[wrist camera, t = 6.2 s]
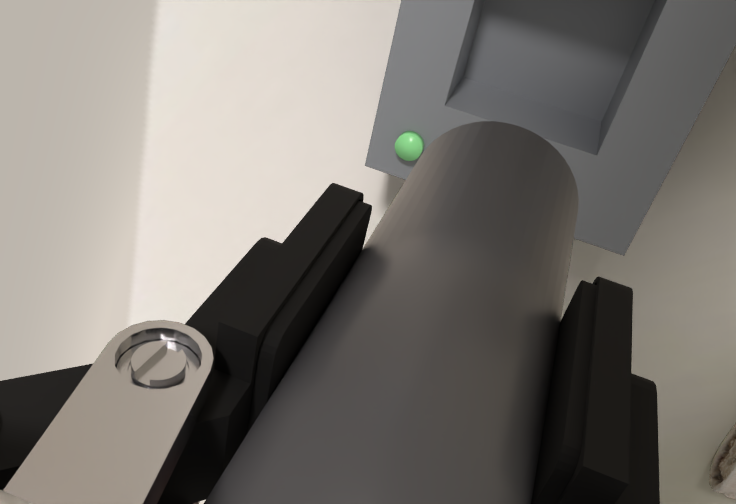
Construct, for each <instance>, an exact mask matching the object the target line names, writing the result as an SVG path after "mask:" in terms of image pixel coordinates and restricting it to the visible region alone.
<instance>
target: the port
mask: <svg viewBox="0 0 736 504" xmlns="http://www.w3.org/2000/svg"><path fill="white" fill-rule="evenodd" d="M735 46H736V0H401V4H400V9H399V14H398V18H397V23H396V27H395V32H394V36H393V41H392V45H391V50H390V54H389V59H388V63H387V68H386V72H385V77H384V81H383V86H382V90H381V95H380V100H379V104H378V109H377V113H376V118H375V122H374V127H373V131H372V136H371V140H370V145H369V149H368V154H367V158H366V163H365V166H367V167H370V168H373V169H376V170H379V171H382V172H384V173H387V174H390V175H393V176H396V177H399V178H402V179H405V180H406V179H407V177H408V176H409V174H410V172H411V171H412V169H413V168H414V166H415V164H416V163H417V161H418V160H419V158H420V156H421V155H422V154H423V152H424V151H425V150H426V148H427V147H428V146H429V145H430V144H431V143H432V142H433V141H434V140H435V139H437V138H438V137H439V136H441V135H442V134H444V133H446V132H447V131H449V130H451V129H453V128H456V127H458V126H461V125H465V124H469V123H473V122H481V121H497V122H504V123H509V124H513V125H517V126H520V127H523V128H525V129H528V130H530V131H532V132H534V133H535V134H537V135H539V136H541V137H542V138H543V139H545V140H546V141H548V142H549V143H550V144H551V145H552V146H553V147H554V148H555V149H557V150H558V152H559V153H560V154H561V155H562V156H563V158H564V159H565V160H566V162H567V164H568V165H569V167H570V169H571V171H572V173H573V176H574V178H575V181H576V185H577V189H578V197H579V204H578V214H577V220H576V227H575V233H574V239H577V240H580V241H583V242H586V243H589V244H592V245H595V246H597V247H600V248H603V249H606V250H609V251H612V252H615V253H618V254H620V255H623V256H624V255H625V253H626V251H627V249H628V247H629V245H630V243H631V242H632V240H633V238H634V236H635V234H636V232H637V230H638V228H639V226H640V225H641V223H642V221H643V219H644V217H645V215H646V213H647V211H648V210H649V208H650V206H651V204H652V202H653V200H654V198H655V196H656V194H657V193H658V191H659V189H660V187H661V185H662V183H663V181H664V179H665V177H666V176H667V174H668V172H669V170H670V168H671V166H672V164H673V162H674V161H675V159H676V157H677V155H678V153H679V151H680V149H681V147H682V145H683V144H684V142H685V140H686V138H687V136H688V134H689V132H690V130H691V129H692V127H693V125H694V123H695V121H696V119H697V117H698V115H699V113H700V112H701V110H702V108H703V106H704V104H705V102H706V100H707V98H708V96H709V95H710V93H711V91H712V89H713V87H714V85H715V83H716V81H717V80H718V78H719V76H720V74H721V72H722V70H723V68H724V66H725V64H726V63H727V61H728V59H729V57H730V55H731V53H732V51H733V49H734V48H735Z"/></svg>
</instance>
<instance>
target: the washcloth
mask: <svg viewBox="0 0 736 504" xmlns="http://www.w3.org/2000/svg"><path fill="white" fill-rule="evenodd" d="M709 484H710V486H711V488H712V489H713V491H715V492H718V493H723V494H725V495H726V497H728V498H732V499H736V424H735V425H734V427H733V428H732V429H731V430H730V432H729V433H728V435H727V436H726V438H725V439H724V440H723V442H722V443H721V445H720V446H719V449H718V451H717V452H716V454H715V456H714V458H713V461H712V464H711V468H710V479H709Z"/></svg>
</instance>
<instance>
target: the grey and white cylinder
mask: <svg viewBox="0 0 736 504" xmlns="http://www.w3.org/2000/svg"><path fill="white" fill-rule="evenodd" d="M578 204H579V197H578V189H577V185H576V181H575V178H574V176H573V173H572V171H571V169H570V167H569V165H568V164H567V162H566V160H565V159H564V158H563V156H562V155H561V154H560V153H559V152H558V150H557V149H555V148H554V147H553V146H552V145H551V144H550V143H549V142H548V141H546V140H545V139H543V138H542V137H541V136H539V135H537V134H535V133H534V132H532V131H530V130H528V129H525V128H523V127H520V126H517V125H513V124H509V123H504V122H497V121H481V122H473V123H469V124H465V125H461V126H458V127H456V128H453V129H451V130H449V131H447V132H446V133H444V134H442V135H441V136H439V137H438V138H437V139H435V140H434V141H433V142H432V143H431V144H430V145H429V146H428V147H427V148H426V150H425V151H424V152H423V154H422V155H421V156H420V158H419V160H418V161H417V163H416V164H415V166H414V168H413V169H412V171H411V172H410V174H409V176H408V177H407V179H406V180H405V182H404V184H403V185H402V187H401V188H400V190H399V192H398V193H397V195H396V196H395V198H394V200H393V201H392V203H391V204H390V206H389V208H388V209H387V211H386V212H385V214H384V216H383V217H382V219H381V220H380V222H379V224H378V225H377V227H376V228H375V230H374V232H373V233H372V235H371V236H370V238H369V240H368V241H367V243H366V244H365V246H364V248H363V249H362V251H361V253H360V254H359V256H358V258H357V259H356V261H355V262H354V264H353V266H352V267H351V269H350V270H349V272H348V274H347V275H346V277H345V278H344V280H343V282H342V283H341V285H340V286H339V288H338V290H337V291H336V293H335V294H334V296H333V298H332V299H331V301H330V302H329V304H328V306H327V307H326V309H325V310H324V312H323V314H322V315H321V317H320V318H319V320H318V322H317V323H316V325H315V326H314V328H313V330H312V331H311V333H310V334H309V336H308V338H307V339H306V341H305V342H304V344H303V346H302V347H301V349H300V350H299V352H298V354H297V355H296V357H295V359H294V360H293V362H292V363H291V365H290V367H289V368H288V370H287V371H286V373H285V375H284V376H283V378H282V379H281V381H280V383H279V384H278V386H277V387H276V389H275V391H274V392H273V394H272V395H271V397H270V399H269V400H268V402H267V403H266V405H265V406H264V408H263V410H262V411H261V413H260V414H259V416H258V418H257V419H256V421H255V422H254V424H253V426H252V427H251V429H250V430H249V432H248V434H247V435H246V437H245V438H244V440H243V442H242V443H241V445H240V446H239V448H238V450H237V451H236V453H235V454H234V456H233V458H232V459H231V461H230V462H229V464H228V466H227V467H226V469H225V470H224V472H223V474H222V475H221V477H220V478H219V480H218V482H217V483H216V485H215V486H214V488H213V490H212V491H211V493H210V494H209V496H208V498H207V499H206V501H205V502H204V504H531V501H532V495H533V489H534V482H535V476H536V470H537V464H538V457H539V451H540V445H541V439H542V432H543V426H544V420H545V414H546V407H547V401H548V395H549V389H550V382H551V376H552V370H553V364H554V357H555V351H556V345H557V339H558V332H559V326H560V321H561V314H562V308H563V302H564V296H565V289H566V283H567V277H568V270H569V264H570V258H571V252H572V245H573V239H574V233H575V227H576V220H577V214H578Z"/></svg>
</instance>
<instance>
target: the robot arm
mask: <svg viewBox="0 0 736 504" xmlns="http://www.w3.org/2000/svg"><path fill="white" fill-rule="evenodd" d="M371 211H372V206H371V205H369V204H366V203H364V202H363V193H361V192H358V191H355V190H352V189H349V188H346V187H344V186H341V185H338V184H335V183H332V184H331V185H330V186H329V187H328V188H327V189H326V190H325V192H324V193H323V194H322V195H321V197H320V198H319V199H318V200H317V201H316V203H315V204H314V205H313V206H312V208H311V209H310V210H309V211H308V213H307V214H306V215H305V216H304V217H303V219H302V220H301V221H300V222H299V224H298V225H297V226H296V227H295V228H294V230H293V231H292V232H291V233H290V235H289V236H288V237H287V238H286V239H285V241H284V242H283V243H279V242H277V241H274V240H271V239H268V238H266V237H265V238H261V239H260V240H259V241H258V242H257V243H256V244H255V245H254V246H253V247H252V248H251V249H250V250H249V252H248V253H247V254H246V255H245V256H244V257H243V258H242V260H241V261H240V262H239V263H238V264H237V265H236V266H235V268H234V269H233V270H232V271H231V272H230V273H229V274H228V276H227V277H226V278H225V279H224V280H223V281H222V282H221V284H220V285H219V286H218V287H217V288H216V289H215V290H214V292H213V293H212V294H211V295H210V296H209V297H208V298H207V300H206V301H205V302H204V303H203V304H202V305H201V306H200V307H199V309H198V310H197V311H196V312H195V313H194V314H193V315H192V317H191V318H190V319H189V320H188V321H187V322H186V323H185V324H182V323H179V322H173V321H166V320H158V321H146V322H142V323H139V324H135V325H132V326H130V327H128V328H126V329H124V330H123V331H121V332H119V333H118V334H117V335H116V336H115V337H114V338H113V339H112V340H111V341H110V342H109V343H108V344H107V345H106V347H105V348H104V350H103V351H102V352H101V354H100V355H99V357H98V358H97V359H96V361H95V362H94V363H93V364H89V365H84V366H78V367H73V368H67V369H62V370H57V371H51V372H46V373H41V374H36V375H30V376H25V377H19V378H14V379H9V380H3V381H0V504H199V502H200V501H202V500H205V499H207V498H208V496H209V494H210V493H211V491H212V490H213V488H214V486H215V485H216V483H217V482H218V480H219V478H220V477H221V475H222V474H223V472H224V470H225V469H226V467H227V466H228V464H229V462H230V461H231V459H232V458H233V456H234V454H235V453H236V451H237V450H238V448H239V446H240V445H241V443H242V442H243V440H244V438H245V437H246V435H247V434H248V432H249V430H250V429H251V427H252V426H253V424H254V422H255V421H256V419H257V418H258V416H259V414H260V413H261V411H262V410H263V408H264V406H265V405H266V403H267V402H268V400H269V399H270V397H271V395H272V394H273V392H274V391H275V389H276V387H277V386H278V384H279V383H280V381H281V379H282V378H283V376H284V375H285V373H286V371H287V370H288V368H289V367H290V365H291V363H292V362H293V360H294V359H295V357H296V355H297V354H298V352H299V350H300V349H301V347H302V346H303V344H304V342H305V341H306V339H307V338H308V336H309V334H310V333H311V331H312V330H313V328H314V326H315V325H316V323H317V322H318V320H319V318H320V317H321V315H322V314H323V312H324V310H325V309H326V307H327V306H328V304H329V302H330V301H331V299H332V298H333V296H334V294H335V293H336V291H337V290H338V288H339V286H340V285H341V283H342V282H343V280H344V278H345V277H346V275H347V274H348V272H349V270H350V269H351V267H352V266H353V264H354V262H355V261H356V259H357V258H358V256H359V254H360V253H361V251H362V249H363V244H364V240H365V236H366V232H367V228H368V224H369V220H370V215H371ZM632 305H633V291H632V289H631V288H629V287H626V286H624V285H621V284H618V283H615V282H612V281H610V280H607V279H604V278H601V277H597V278H596V279H595V280H594V282H593V284H591V283H589V282H586V281H583V280H582V281H581V282H580V284H579V286H578V287H577V289H576V291H575V293H574V295H573V298H572V300H571V302H570V304H569V306H568V308H567V310H566V312H565V314H564V316H563V318H562V320H561V322H560V326H559V332H558V339H557V345H556V351H555V357H554V364H553V370H552V376H551V382H550V389H549V395H548V401H547V407H546V414H545V420H544V426H543V432H542V439H541V445H540V451H539V457H538V464H537V470H536V476H535V482H534V489H533V495H532V501H531V504H660V498H659V457H658V415H657V390H656V385H655V383H654V382H653V381H650V380H648V379H645V378H642V377H640V376H637V375H634V374H632V373H631V354H632Z"/></svg>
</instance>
